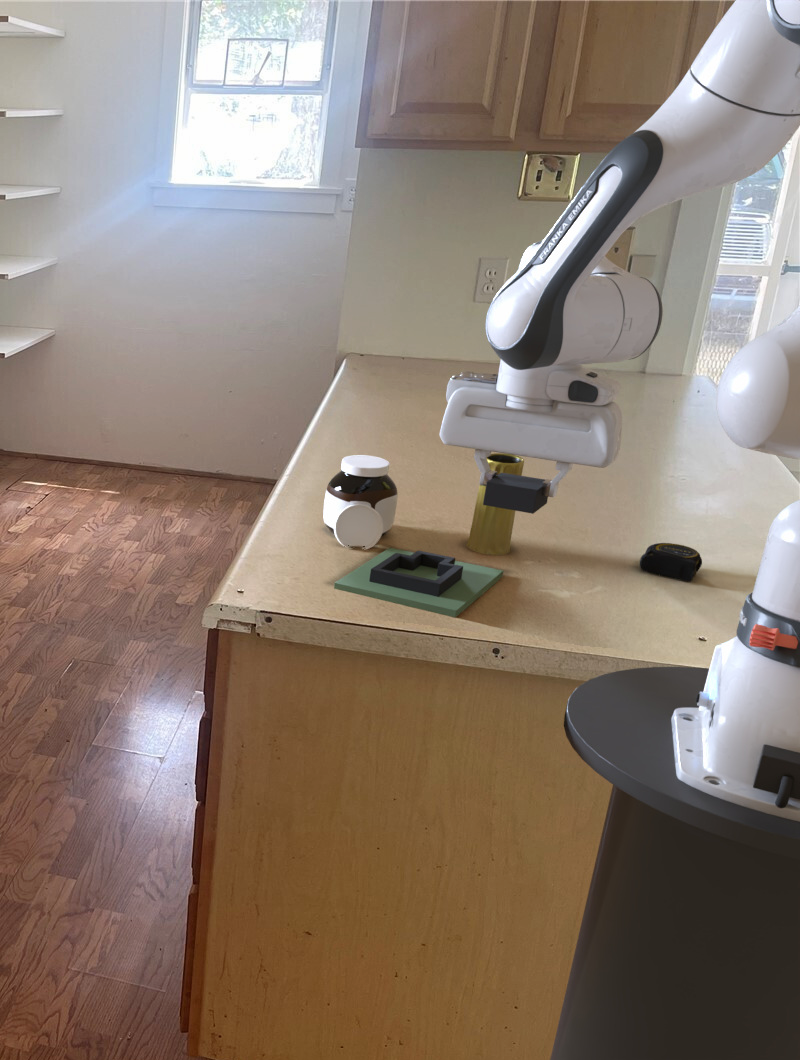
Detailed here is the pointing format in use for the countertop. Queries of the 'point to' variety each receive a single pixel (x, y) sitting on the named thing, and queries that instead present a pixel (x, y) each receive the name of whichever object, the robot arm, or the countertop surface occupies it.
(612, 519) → the countertop surface
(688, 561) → the tape measure
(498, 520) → the vase
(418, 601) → the socket mat
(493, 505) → the plug
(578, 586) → the countertop surface
